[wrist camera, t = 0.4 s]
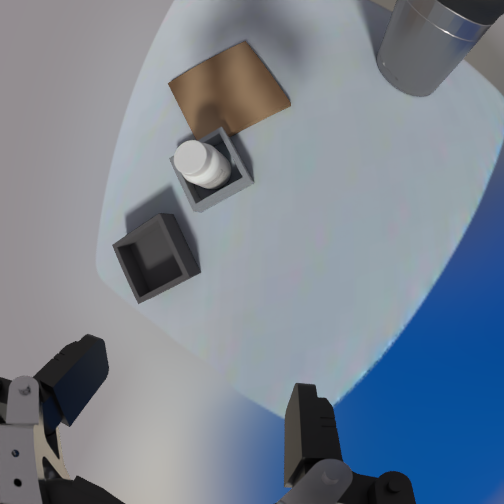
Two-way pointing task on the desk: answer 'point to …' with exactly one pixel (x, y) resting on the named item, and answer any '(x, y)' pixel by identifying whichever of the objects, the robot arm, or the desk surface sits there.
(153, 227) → the box
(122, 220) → the desk surface
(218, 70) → the walnut pad
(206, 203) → the sleeve
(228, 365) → the desk surface
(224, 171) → the pill bottle
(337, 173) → the desk surface
